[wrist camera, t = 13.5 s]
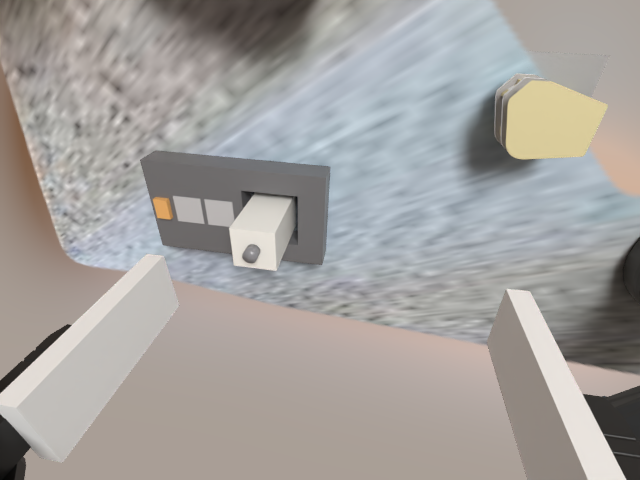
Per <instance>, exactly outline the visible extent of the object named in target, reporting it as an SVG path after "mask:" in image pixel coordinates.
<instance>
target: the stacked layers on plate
mask: <svg viewBox="0 0 640 480" xmlns="http://www.w3.org/2000/svg"><path fill="white" fill-rule="evenodd" d="M526 54H527V55H528V56H529V57H530V59H531V61H532V62H533V63H534V64H535V67H536V68H537V69H538V70H539V72H540V75H541V76H542V77H543V78H541V77H539V76H536V75H532V74H515V75H514V76H513V77H512V78H510V79H509V80H508V81H507V82H506V83H505V84H503V85H502V86H501V87H500V88H499V89H497V91H496V94H495V122H494V134H495V137H496V139H497V141H498V142H499V143H500V144H502V146H503V147H504V148H505V149H506V150H507V151H508V153H509V154H510V155H511V156H513V157H514V158H517V159H542V158H562V157H582V156H584V155H585V153H586V151H587V149H588V147H589V145H590V143H591V141H592V139H593V136H594V134H595V132H596V130H597V128H598V126H599V124H600V122H601V120H602V117H603V115H604V113H605V111H606V109H607V107H608V105H607V104H604V103H602V102H599V101H597V100H595V99H592V98H591V97H592V95H593V93H594V90H595V88H596V86H597V84H598V81H599V79H600V77H601V75H602V72H603V70H604V68H605V66H606V63H607V61H608V59H609V57H610V55H595V54H573V53H557V52H538V51H537V52H536V51H526Z"/></svg>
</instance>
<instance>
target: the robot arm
mask: <svg viewBox="0 0 640 480" xmlns="http://www.w3.org/2000/svg"><path fill="white" fill-rule="evenodd" d="M623 279H624V283H625V286H626V288H627V290H628V292H629V293H630V294H631V295H632V296H633V298H634V299H635V300H636V301H637V302H638V303H639V304H640V240H639V241H638V242H637V243H636V244H635V246H634V247H633V249H632V250H631V252H630V253H629V255H628V257H627V259H626V262H625V265H624V270H623ZM178 307H179V303H178V299H177V296H176V293H175V290H174V287H173V284H172V280H171V277H170V274H169V271H168V268H167V265H166V261H165V258H164V256H161V255H151V254H146V255H145V256H144V257H143V258H142V259H141V260H140V261H139V262H138V263H137V264H136V265H135V266H134V267H133V268H132V269H131V270H130V271H128V272H127V273H126V274H125V275H124V276H123V277H122V278H121V279H120V280H119V281H118V282H117V283H116V284H115V285H114V286H113V287H112V288H111V289H110V290H109V291H108V292H107V293H105V294H104V295H103V296H102V297H101V298H100V299H99V300H98V301H97V302H96V303H95V304H94V305H93V306H92V307H91V308H90V309H89V310H88V311H87V312H85V313H84V314H83V315H82V316H81V317H80V318H79V319H78V320H77V321H76V322H75V323H74V324H73V325H68V324H67V325H66V326H64V327H62V328H61V329H59V330H57V331H56V332H54V333H52V334H51V335H50V336H48V338H46V339H45V340H44V341H43V342H42V343H41V344H40V345H39V346H37V347H36V350H35V351H32V352H31V353H30V354H29V355H28V356H27V357H25V358H24V361H21V362H20V363H19V364H18V365H17V366H16V367H15V368H14V369H13V370H11V371H10V372H9V373H8V374H7V375H6V376H5V377H4V378H3V379H2V380H0V480H24V476H25V469H26V462H25V458H24V457H23V456H24V455H25V453H26V452H27V451H28V450H29V449H30V448H32V450H33V451H34V452H35V453H36V454H37V455H38V456H39V457H40V458H43V459H48V460H53V461H57V462H63V461H64V460H65V459H66V457H67V456H68V455H69V453H70V452H71V451H72V449H73V448H74V447H75V445H76V444H77V443H78V441H79V440H80V439H81V437H82V436H83V434H84V433H85V432H86V430H87V429H88V428H89V426H90V425H91V424H92V422H93V421H94V419H95V418H96V417H97V416H98V414H99V413H100V412H101V410H102V409H103V408H104V406H105V405H106V404H107V402H108V401H109V400H110V398H111V397H112V396H113V394H114V393H115V391H116V390H117V389H118V387H119V386H120V385H121V383H122V382H123V381H124V379H125V378H126V377H127V375H128V374H129V373H130V371H131V370H132V369H133V367H134V366H135V365H136V363H137V362H138V361H139V359H140V358H141V357H142V355H143V354H144V352H145V351H146V350H147V348H148V347H149V346H150V344H151V343H152V342H153V341H154V339H155V338H156V336H157V335H158V334H159V332H160V331H161V330H162V328H163V327H164V326H165V324H166V323H167V322H168V320H169V319H170V318H171V316H172V315H173V314H174V312H175V311H176V309H177V308H178ZM487 345H488V349H489V352H490V355H491V359H492V362H493V366H494V369H495V372H496V375H497V379H498V382H499V386H500V389H501V392H502V396H503V399H504V403H505V406H506V409H507V413H508V416H509V419H510V423H511V426H512V430H513V433H514V436H515V440H516V443H517V447H518V450H519V453H520V457H521V460H522V463H523V467H524V470H525V474H526V477H527V480H640V386H637V387H635V388H632V389H629V390H626V391H623V392H621V393H618V394H615V395H612V396H609V397H605V396H602V397H600V396H593V395H585V394H582V392H581V390H580V388H579V386H578V384H577V383H576V381H575V379H574V377H573V375H572V373H571V371H570V369H569V367H568V365H567V363H566V361H565V359H564V357H563V355H562V353H561V351H560V349H559V347H558V345H557V343H556V341H555V340H554V338H553V336H552V334H551V332H550V330H549V328H548V326H547V324H546V322H545V320H544V318H543V316H542V314H541V312H540V310H539V308H538V306H537V304H536V302H535V300H534V298H533V297H532V295H531V293H530V291H523V290H512V289H506V291H505V294H504V296H503V299H502V302H501V305H500V307H499V310H498V313H497V316H496V318H495V321H494V324H493V327H492V329H491V332H490V335H489V338H488V340H487Z"/></svg>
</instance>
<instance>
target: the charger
mask: <svg viewBox="0 0 640 480" xmlns="http://www.w3.org/2000/svg"><path fill="white" fill-rule="evenodd" d="M295 226H296V196H288V195H278V194H269V193H259V192H255V193H254V195H253V196H252V198H251V199H250V200H249V202H248V203H247V204H246V206H245V207H244V208H243V210H242V211H241V213H240V214H239V215H238V217H237V218H236V219H235V221H234V222H233V223H232V225H231V226H230V228H229V231H230V239H231V246H232V254H233V261H234V265H235V266H242V267H250V268H258V269H266V270H274V271H277V269H278V266H279V264H280V262H281V259H282V257H283V255H284V252H285V250H286V247H287V245H288V243H289V240H290V238H291V236H292V233H293V231H294V229H295Z"/></svg>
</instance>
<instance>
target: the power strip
mask: <svg viewBox="0 0 640 480" xmlns="http://www.w3.org/2000/svg"><path fill="white" fill-rule="evenodd" d="M140 161H141V165H142V169H143V173H144V176H145V180H146V184H147V188H148V191H149V195H150V199H151V203H152V206H153V210H154V214H155V218H156V221H157V225H158V229H159V233H160V236H161V240H162V244H163V245H166V246H174V247H182V248H190V249H198V250H206V251H214V252H222V253H230V254H232V246H231V239H230V231H229V228H230V226H231V225H232V223H233V222H234V221H235V219H236V218H237V217H238V215H239V214H240V213H241V211H242V210H243V208H244V207H245V206H246V204H247V203H248V202H249V200H250V199H251V198H252V197H251V192H259V193H269V194H278V195H288V196H298V231H293V233H292V236H291V238H290V240H289V243H288V245H287V247H286V250H285V252H284V255H283V257H282V259H281V260H286V261H294V262H302V263H310V264H318V265H322V263H323V260H324V256H325V252H326V237H327V218H328V199H329V181H330V167H328V166H317V165H306V164H295V163H285V162H274V161H263V160H252V159H241V158H230V157H219V156H209V155H198V154H187V153H176V152H165V151H154V152H153V153H151V154H149V155H147V156H146V157H144V158H142V159H141V160H140Z"/></svg>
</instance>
